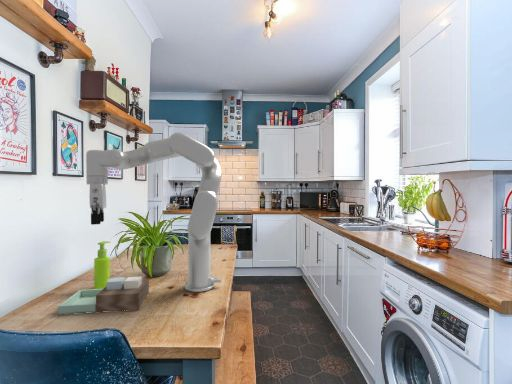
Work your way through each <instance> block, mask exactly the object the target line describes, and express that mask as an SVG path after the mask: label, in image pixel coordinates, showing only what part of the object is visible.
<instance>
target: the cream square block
mask: <svg viewBox="0 0 512 384" xmlns="http://www.w3.org/2000/svg"><path fill="white" fill-rule="evenodd" d="M142 277H143V276H128V277H127V278H125V281H124V289H131V288H139V287H140V285H141V284H142V279H143V278H142Z"/></svg>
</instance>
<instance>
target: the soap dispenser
mask: <svg viewBox="0 0 512 384" xmlns="http://www.w3.org/2000/svg"><path fill="white" fill-rule="evenodd" d="M110 243H111V241H105V240H104V241H100V242H97V245H99V249H98V250H97V257H95V258H94V260H93V261H94V263H93V266H94V268H93V270H94V271H93V274H94V277H93V278H94V279H93V282H94V283H93V285H94V288H93V289H104V288H105V287H106V286H107V281H108V280H110V279H111V265H110V264H111V258H110V256H107V252H108V251H107V249H106V248H105V245H106V244H110Z"/></svg>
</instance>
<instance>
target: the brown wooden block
mask: <svg viewBox="0 0 512 384" xmlns="http://www.w3.org/2000/svg"><path fill="white" fill-rule="evenodd" d="M148 294H149V295H150V279H149V278H147V279H144V278H142V284H141V285H140V287H139V288H131V289H124V286H123V288H122V289H111V290H107V286H106V287H105V288H104V289H103V290H102V291H100V292H99V293H98V294H97V295H96V312H102V313H104V312H103V311H119V312H127V311H126V310H135V311H140V309H141V308H142V306H143V304H144V303H145V301H146V299H147V298H146V297H148V296H149V295H148ZM147 295H148V296H147ZM144 300H145V301H144ZM143 302H144V303H143ZM141 305H142V306H141ZM124 310H125V311H124Z"/></svg>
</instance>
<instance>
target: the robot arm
mask: <svg viewBox="0 0 512 384" xmlns="http://www.w3.org/2000/svg"><path fill="white" fill-rule="evenodd" d="M85 154H86V155H85V161H86V162H85V163H86V165H85V166H86V168H85V169H86V170H85V171H86V185H89V208H90V209H91V211H90V224H91V226H92V225H93V226H94V225H101V223H103V222H105V212H104V209H106V208H107V192H106V191H107V190H106V185H109V183H108V182H109V181H108V176H109V175H108V174H109V173H108V172H109V171H108V169H109V168H111V169H117V170H120V171H121V170H127V169H128V170H129V169H132V168H136V167H141V166H144V165H148V164H153V163H155V162H160V161H164V160H168V159H174V158H179V157H183V158H184V159H186V160H188V161H190V162H192V163H194V164H195V165H196V166H197V167H198V168H199V170H201V179H200V183H199V186H198V191H197V194H195V195H196V196H195V198H194V201H193V205H192V208H191V213H190V216H189V219H188V224H187V233H188V234H187V235H188V236H187V241H188V242H187V243H188V244H187V247H188V248H187V250H188V252H187V255H188V257H187V258H188V259H187V260H188V261H187V262H188V263H187V264H188V265H187V266H188V267H187V268H188V269H187V271H188V272H187V274H188V275H187V276H188V277H187V279H188V281H187V283H185V284H184V289H185V290H186V291H188V292H193V293H198V292H199V293H201V292H207V291H209V290H212V289H213V288H214V287H215V284H220V283H222V278H220V277H218V276H217V277H213V276H212V272H211V270H212V269H211V265H212V264H211V263H212V262H211V244H212V243H211V231H212V229H213V225H214V221H215V218H216V214H217V210H218V204H219V199H218V194H219V192H220V191H219V190H220V186H221V181H222V167H221V165H220V163H219V161H218V160H217V159H216V156H215V153H214V151H213V150H212V149H211V148H210V147H208V146H207V145H205V144H203V143H202V142H200V141H198V140H196V139H194V138H193V137H190V136H189V135H187V134H185V133H183V132H174V133H172V134H170V136H169V137H166V138H161V139H157V140H152V141H148V142H146V143H145V144H144V145H143V146H141V147H139V148H135V149H131V150H127V151H122V150H121V149H120V150H119V149H103V150H100V149H89V150H87V151H86V153H85Z"/></svg>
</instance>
